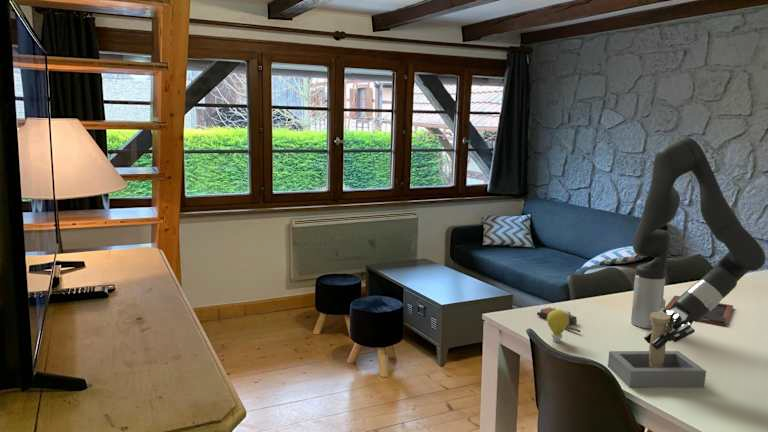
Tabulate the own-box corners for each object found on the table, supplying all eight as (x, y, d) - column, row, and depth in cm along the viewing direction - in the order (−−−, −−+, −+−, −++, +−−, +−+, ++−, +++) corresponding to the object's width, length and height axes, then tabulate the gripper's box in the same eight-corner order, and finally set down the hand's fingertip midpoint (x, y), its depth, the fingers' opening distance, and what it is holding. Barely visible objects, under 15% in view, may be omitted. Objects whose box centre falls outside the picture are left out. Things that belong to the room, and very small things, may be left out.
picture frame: (725, 328, 193) (732, 309, 212) (726, 323, 192) (733, 304, 212) (661, 316, 204) (674, 299, 224) (662, 310, 204) (674, 294, 224)
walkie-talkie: (532, 318, 200) (577, 336, 183) (532, 306, 199) (578, 323, 182) (549, 314, 204) (595, 331, 187) (550, 302, 204) (596, 318, 187)
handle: (667, 366, 154) (672, 314, 152) (663, 374, 149) (668, 320, 147) (648, 362, 157) (652, 310, 155) (643, 370, 152) (648, 317, 149)
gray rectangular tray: (676, 365, 160) (678, 351, 160) (704, 387, 147) (706, 370, 147) (607, 366, 159) (609, 351, 159) (629, 387, 147) (630, 371, 146)
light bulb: (542, 336, 181) (544, 306, 180) (562, 336, 182) (564, 306, 180) (550, 344, 175) (552, 313, 173) (571, 344, 175) (573, 313, 174)
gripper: (675, 283, 157) (629, 325, 158) (706, 299, 143) (654, 345, 144) (692, 301, 158) (645, 343, 159) (724, 319, 144) (673, 364, 145)
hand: (650, 343), depth 152 cm, fingers closed on handle, 3 cm apart
